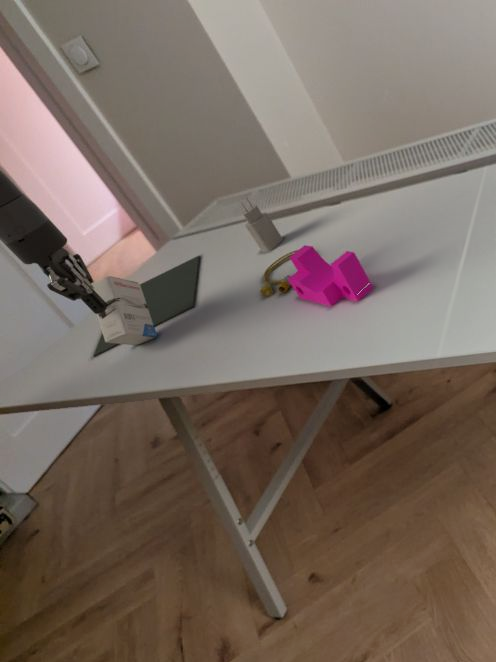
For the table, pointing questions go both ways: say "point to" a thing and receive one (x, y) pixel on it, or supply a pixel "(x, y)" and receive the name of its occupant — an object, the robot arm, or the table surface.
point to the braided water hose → (284, 282)
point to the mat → (166, 296)
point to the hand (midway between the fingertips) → (102, 310)
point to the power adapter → (261, 228)
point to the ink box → (124, 312)
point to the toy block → (328, 277)
